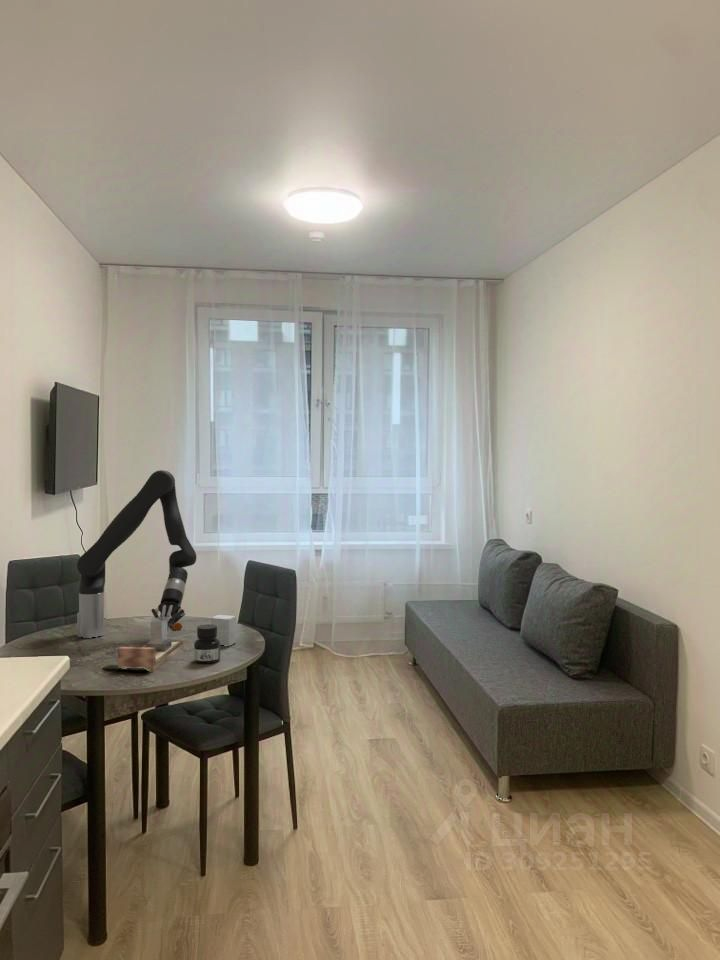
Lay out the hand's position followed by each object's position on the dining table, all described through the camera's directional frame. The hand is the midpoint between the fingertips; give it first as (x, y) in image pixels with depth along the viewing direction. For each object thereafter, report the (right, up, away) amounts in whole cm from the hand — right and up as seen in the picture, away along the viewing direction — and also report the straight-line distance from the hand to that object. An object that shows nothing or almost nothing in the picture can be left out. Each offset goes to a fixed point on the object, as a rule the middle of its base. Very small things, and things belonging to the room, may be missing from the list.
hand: (162, 632), depth 263 cm
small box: (+21, -7, +9) cm, 23 cm away
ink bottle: (+19, -7, -13) cm, 24 cm away
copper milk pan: (-1, -7, -10) cm, 12 cm away
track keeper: (0, -5, -3) cm, 6 cm away
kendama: (-7, -6, +39) cm, 40 cm away
